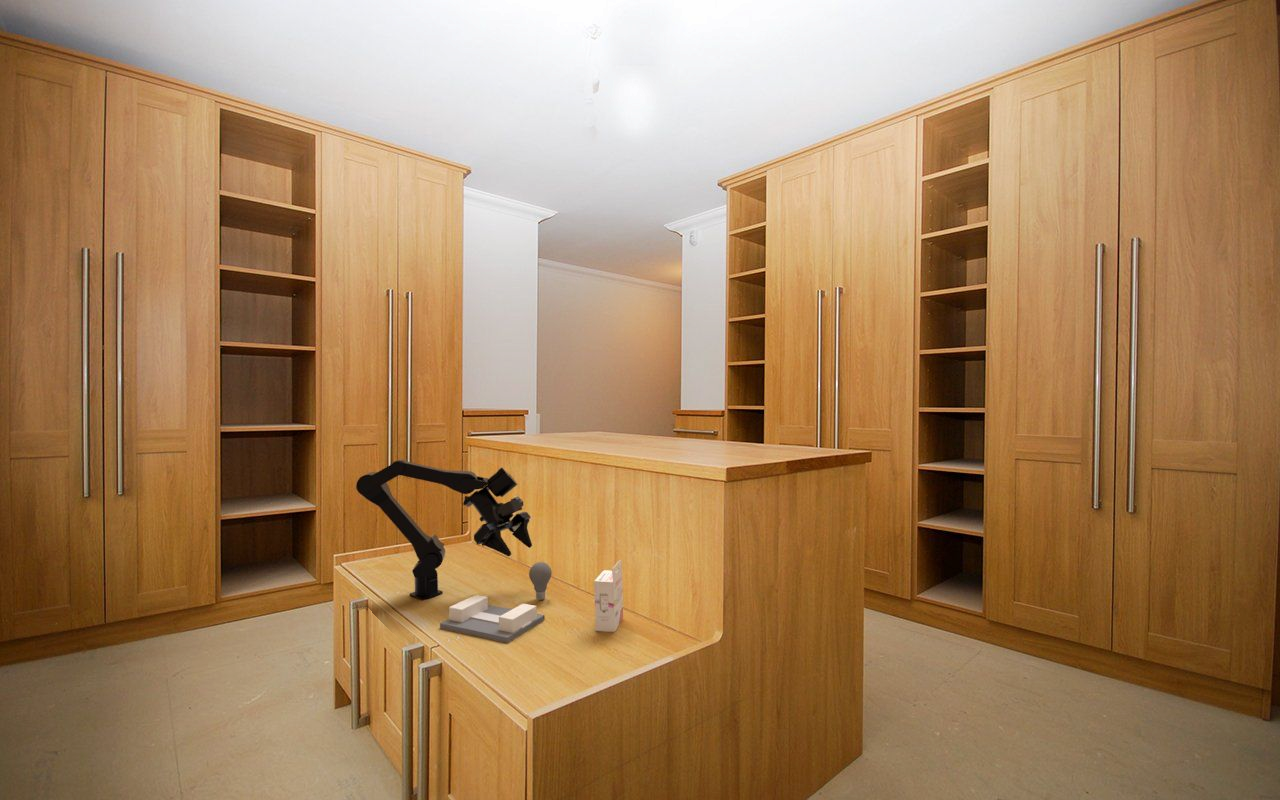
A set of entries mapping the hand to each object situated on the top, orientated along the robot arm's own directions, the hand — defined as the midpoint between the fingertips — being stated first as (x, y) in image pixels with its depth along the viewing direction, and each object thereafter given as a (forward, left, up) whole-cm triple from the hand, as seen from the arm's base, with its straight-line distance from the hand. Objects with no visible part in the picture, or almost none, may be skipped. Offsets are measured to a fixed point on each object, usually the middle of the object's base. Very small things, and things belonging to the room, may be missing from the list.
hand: (520, 550), depth 152 cm
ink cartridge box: (+32, -1, -13) cm, 35 cm away
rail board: (+9, -17, -12) cm, 23 cm away
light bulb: (+6, +1, -13) cm, 14 cm away
